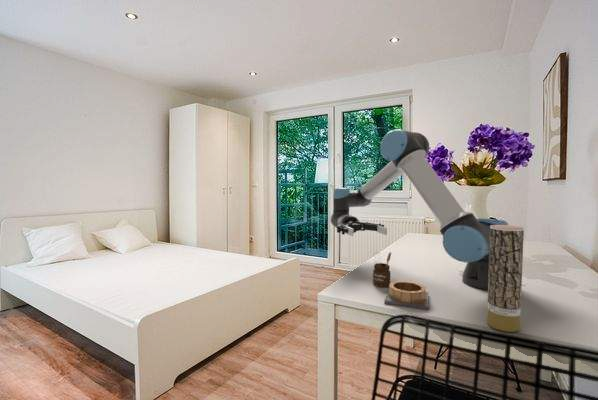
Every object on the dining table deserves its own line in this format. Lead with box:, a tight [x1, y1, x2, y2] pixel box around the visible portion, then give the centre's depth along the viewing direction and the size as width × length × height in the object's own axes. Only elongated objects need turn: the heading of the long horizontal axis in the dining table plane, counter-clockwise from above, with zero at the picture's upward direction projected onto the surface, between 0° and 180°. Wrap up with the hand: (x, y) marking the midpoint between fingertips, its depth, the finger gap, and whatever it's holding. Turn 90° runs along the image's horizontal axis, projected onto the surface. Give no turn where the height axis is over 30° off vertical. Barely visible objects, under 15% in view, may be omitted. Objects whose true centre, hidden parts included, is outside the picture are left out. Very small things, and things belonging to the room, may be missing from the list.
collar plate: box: [383, 280, 429, 311], centre depth 94 cm, size 12×12×4 cm
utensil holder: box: [372, 252, 392, 288], centre depth 107 cm, size 6×6×12 cm
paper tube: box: [486, 224, 525, 333], centre depth 75 cm, size 7×7×25 cm
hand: (369, 231), depth 116 cm, fingers open, 13 cm apart
